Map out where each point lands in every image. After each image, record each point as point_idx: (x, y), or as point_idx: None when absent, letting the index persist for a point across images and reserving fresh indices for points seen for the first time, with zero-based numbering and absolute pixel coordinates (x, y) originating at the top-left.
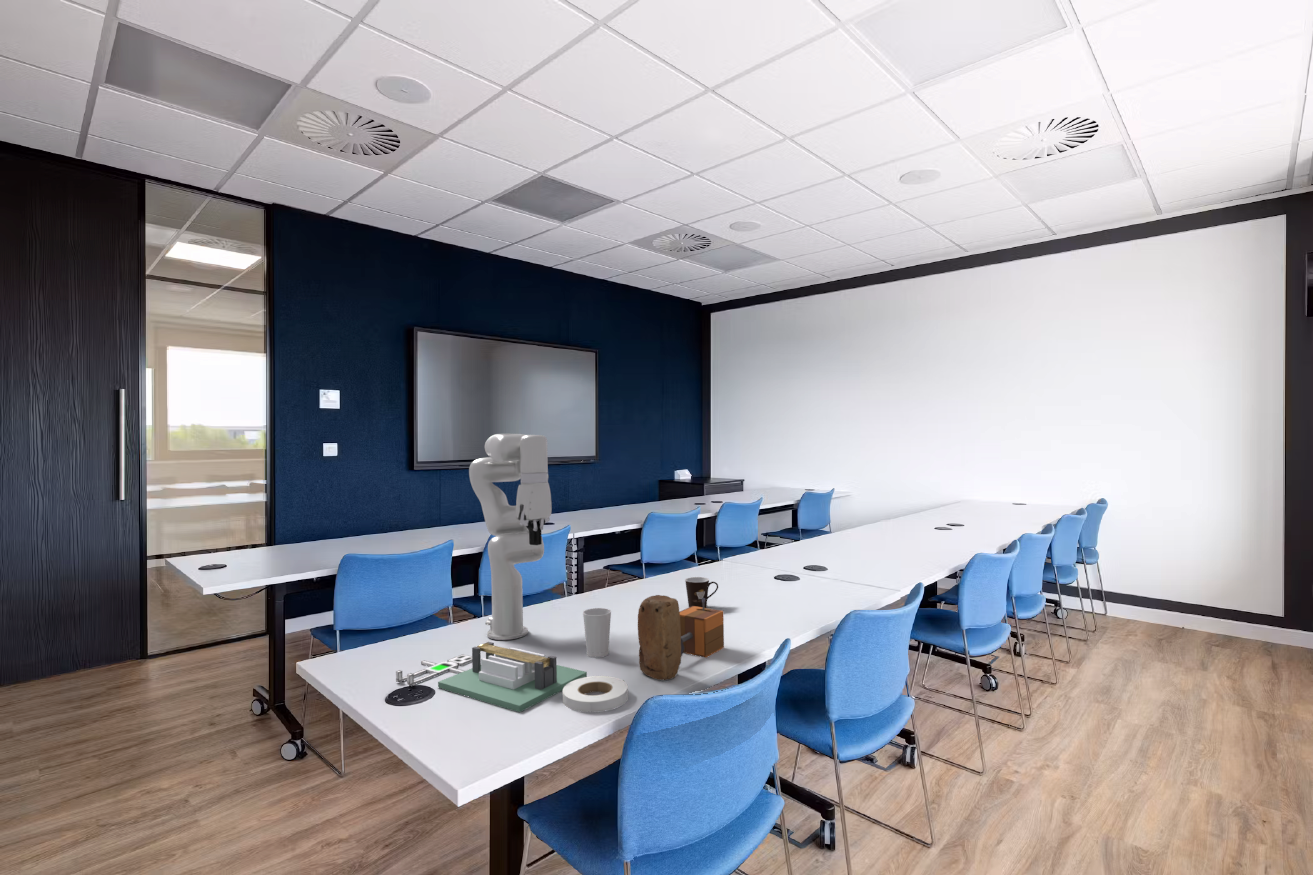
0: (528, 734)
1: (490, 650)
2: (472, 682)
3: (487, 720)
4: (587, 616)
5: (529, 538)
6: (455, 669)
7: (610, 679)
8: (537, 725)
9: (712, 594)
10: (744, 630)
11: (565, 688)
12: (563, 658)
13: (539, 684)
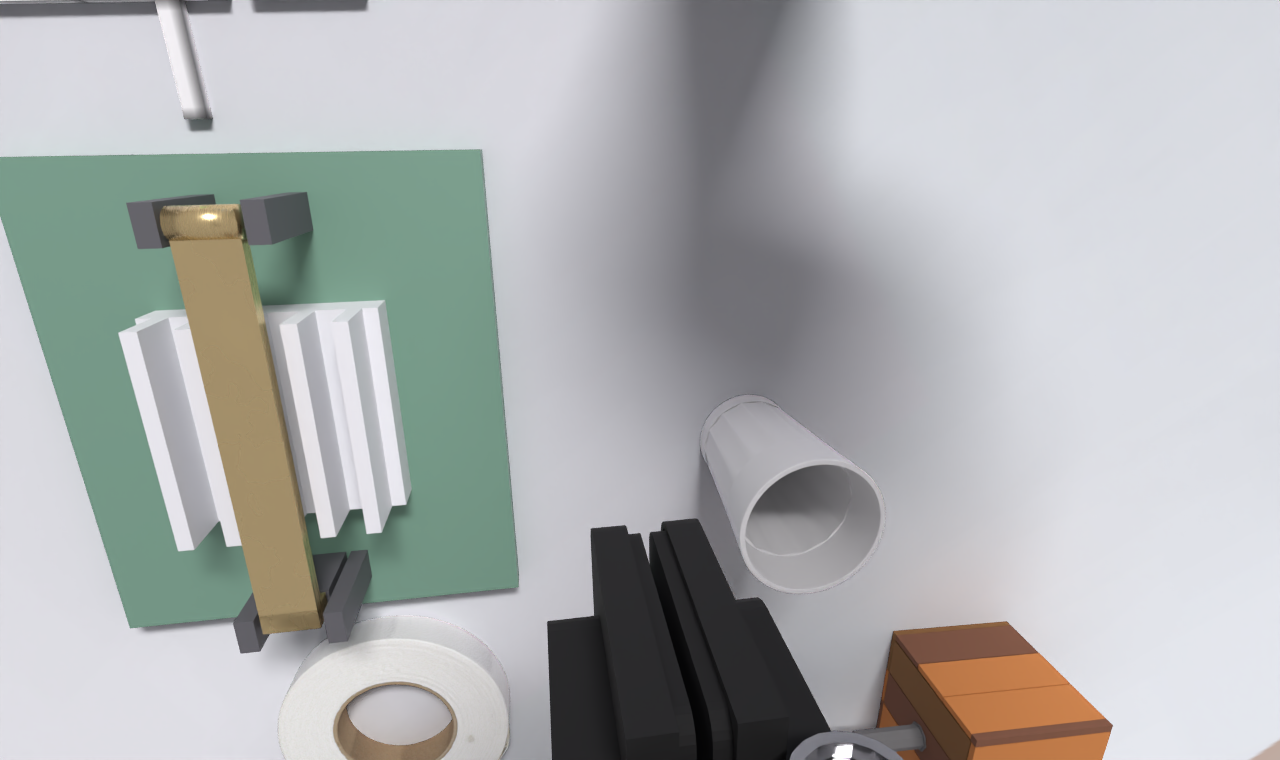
0: (68, 740)
1: (190, 320)
2: (115, 310)
3: (14, 582)
4: (737, 527)
5: (602, 594)
6: (177, 46)
7: (484, 718)
8: (129, 716)
9: None
10: (1168, 678)
11: (326, 665)
12: (627, 362)
13: None
